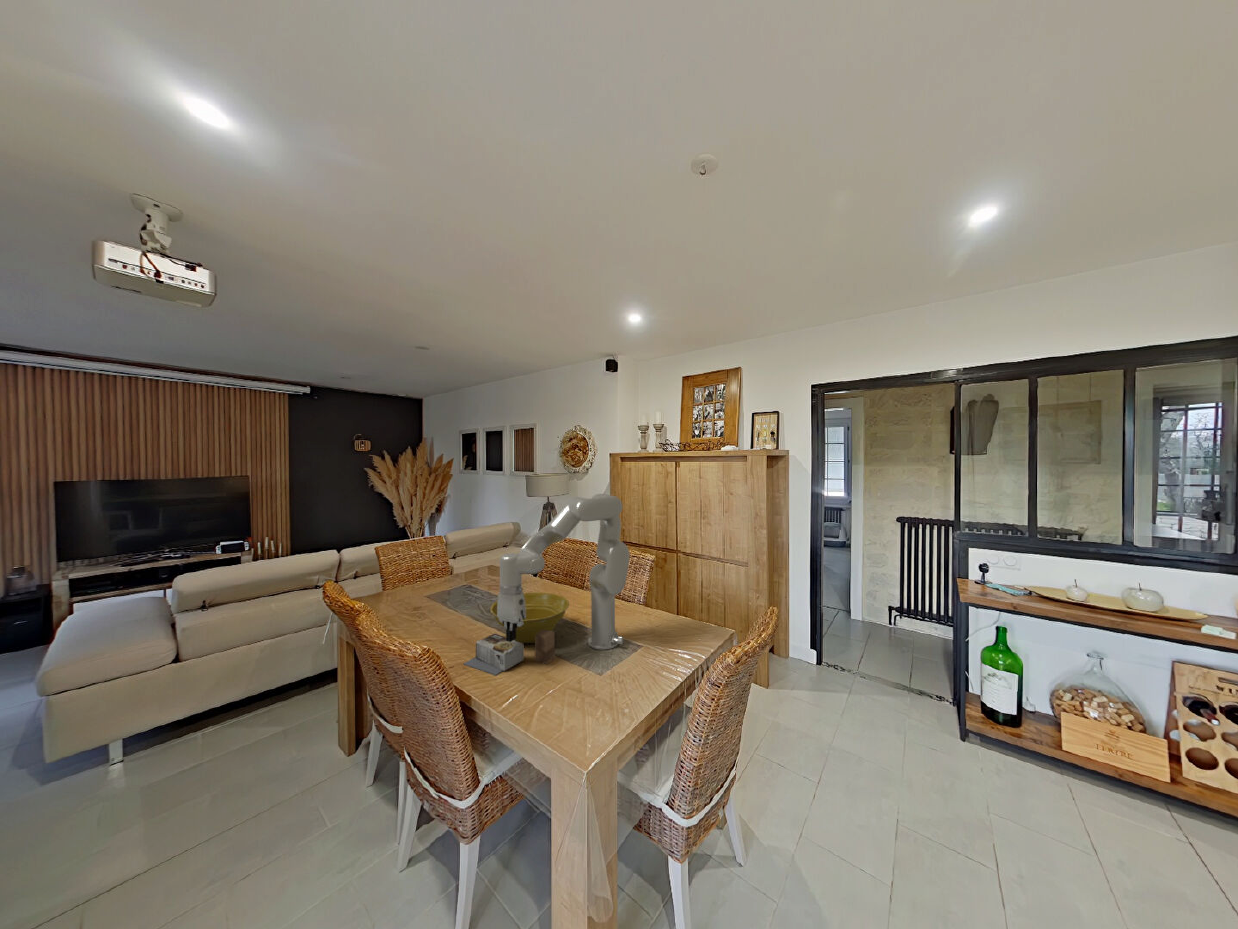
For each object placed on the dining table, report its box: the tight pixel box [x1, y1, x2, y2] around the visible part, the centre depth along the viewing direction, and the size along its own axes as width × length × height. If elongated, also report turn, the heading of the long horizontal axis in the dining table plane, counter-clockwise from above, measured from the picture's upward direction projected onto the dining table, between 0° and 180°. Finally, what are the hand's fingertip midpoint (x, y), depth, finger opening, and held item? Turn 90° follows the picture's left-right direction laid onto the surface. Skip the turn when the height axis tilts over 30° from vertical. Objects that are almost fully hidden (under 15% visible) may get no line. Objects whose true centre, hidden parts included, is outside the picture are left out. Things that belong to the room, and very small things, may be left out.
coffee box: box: [475, 633, 525, 672], centre depth 148 cm, size 9×6×16 cm
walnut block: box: [534, 630, 556, 665], centre depth 149 cm, size 5×5×10 cm
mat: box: [463, 656, 505, 676], centre depth 147 cm, size 16×12×1 cm
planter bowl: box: [490, 592, 570, 644], centre depth 169 cm, size 32×32×13 cm
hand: (511, 640), depth 144 cm, fingers closed
